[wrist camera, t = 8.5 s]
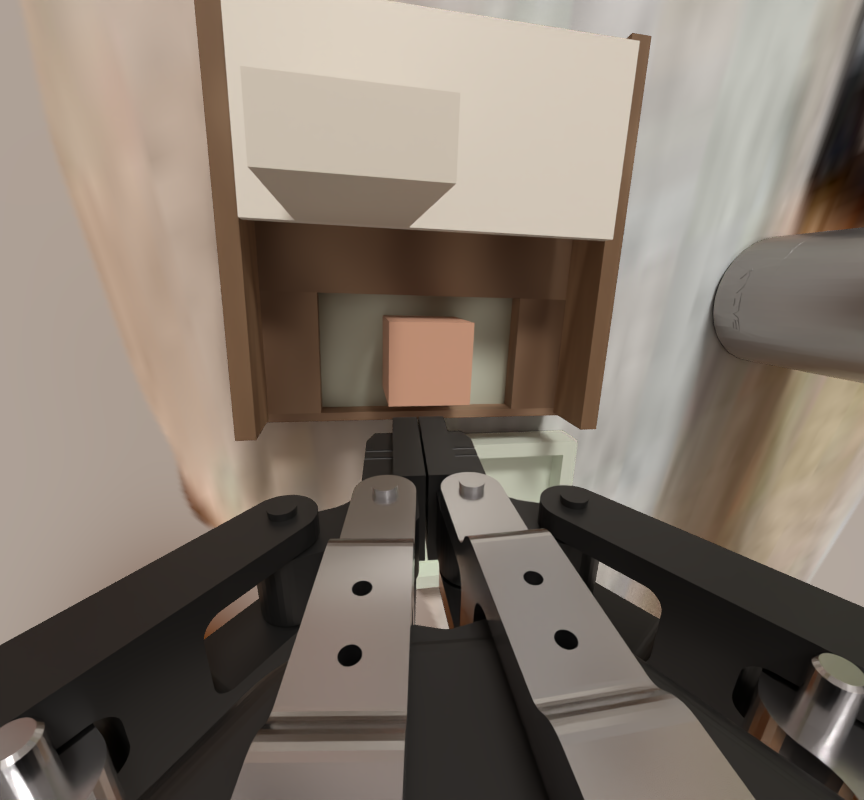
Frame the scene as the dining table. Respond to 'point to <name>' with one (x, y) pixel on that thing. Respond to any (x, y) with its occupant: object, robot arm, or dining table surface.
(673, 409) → the dining table surface
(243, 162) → the cover
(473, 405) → the brown wooden box
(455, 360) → the terracotta block
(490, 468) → the sage tray
